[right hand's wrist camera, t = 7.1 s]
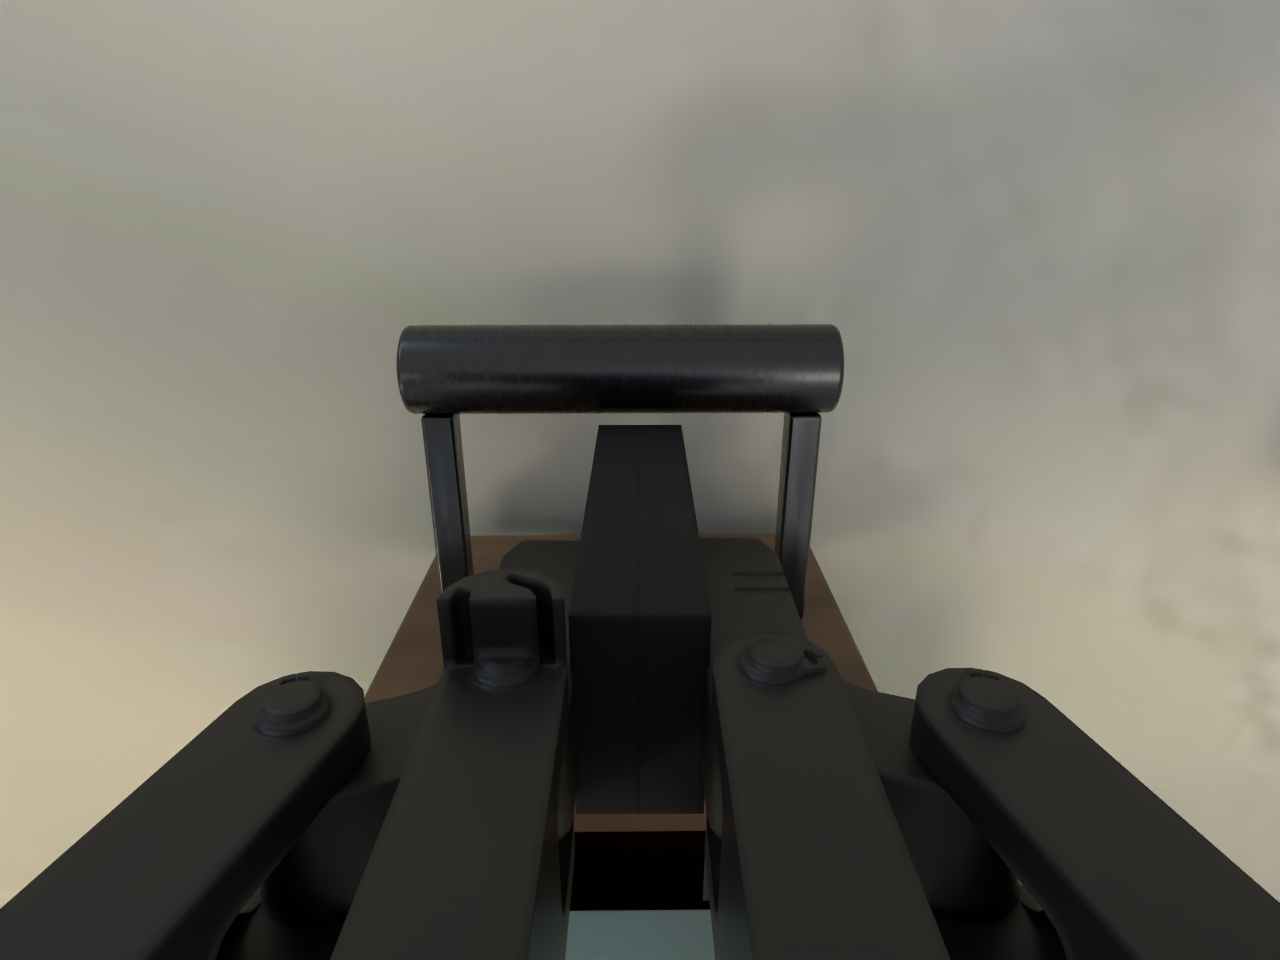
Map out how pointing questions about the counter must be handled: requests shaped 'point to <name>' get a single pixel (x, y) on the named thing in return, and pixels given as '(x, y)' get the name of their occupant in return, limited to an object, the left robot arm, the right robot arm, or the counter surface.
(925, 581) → the counter surface
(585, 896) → the drawer
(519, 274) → the counter surface
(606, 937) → the sage green rectangular box
